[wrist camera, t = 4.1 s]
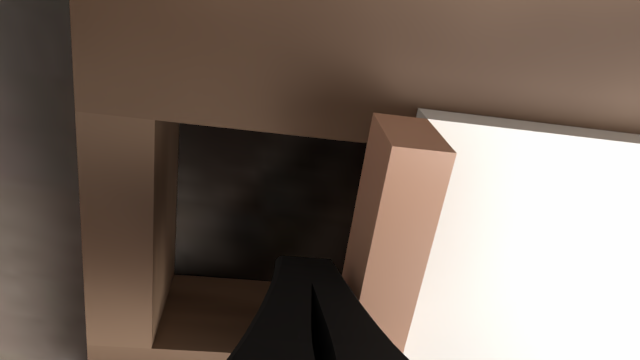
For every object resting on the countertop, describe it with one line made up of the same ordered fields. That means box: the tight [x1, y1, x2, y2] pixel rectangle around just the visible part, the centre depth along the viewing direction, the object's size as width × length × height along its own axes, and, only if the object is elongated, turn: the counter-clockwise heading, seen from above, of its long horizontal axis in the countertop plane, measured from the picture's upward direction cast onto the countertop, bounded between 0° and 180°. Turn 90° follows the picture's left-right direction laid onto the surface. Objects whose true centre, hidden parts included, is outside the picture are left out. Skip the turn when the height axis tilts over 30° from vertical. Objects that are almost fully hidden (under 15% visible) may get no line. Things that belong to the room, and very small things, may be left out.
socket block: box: [69, 0, 640, 360], centre depth 15 cm, size 16×16×4 cm
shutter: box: [342, 108, 640, 360], centre depth 13 cm, size 9×9×3 cm
